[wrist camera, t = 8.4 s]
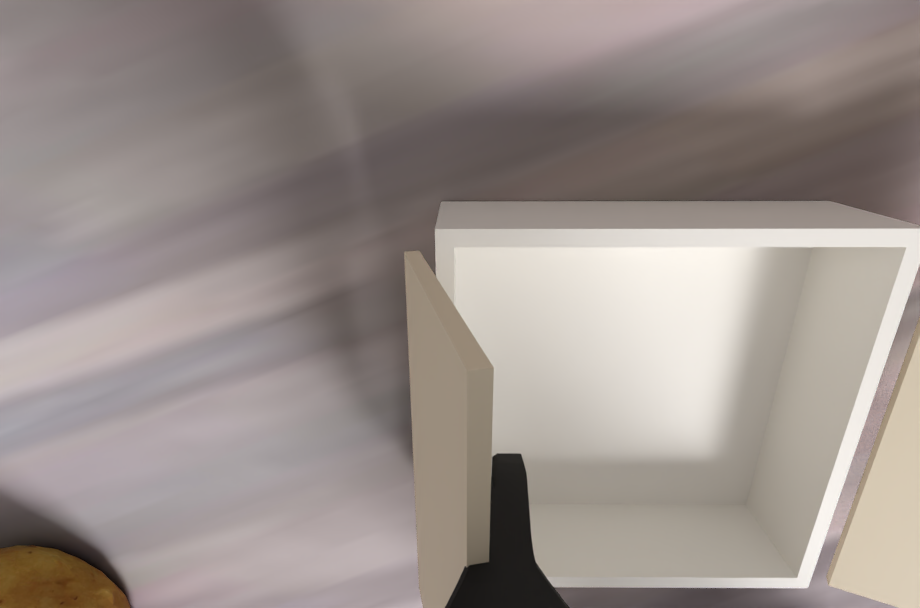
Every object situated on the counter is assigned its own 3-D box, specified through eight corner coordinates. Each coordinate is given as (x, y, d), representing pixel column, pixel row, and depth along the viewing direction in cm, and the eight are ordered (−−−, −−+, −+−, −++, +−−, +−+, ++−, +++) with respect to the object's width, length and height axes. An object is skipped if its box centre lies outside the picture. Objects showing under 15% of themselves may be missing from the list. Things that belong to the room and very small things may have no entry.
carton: (829, 200, 17) (931, 228, 13) (749, 505, 22) (807, 588, 18) (440, 201, 17) (434, 228, 13) (446, 504, 22) (442, 587, 18)
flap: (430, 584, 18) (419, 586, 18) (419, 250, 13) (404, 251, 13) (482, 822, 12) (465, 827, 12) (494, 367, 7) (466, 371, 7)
